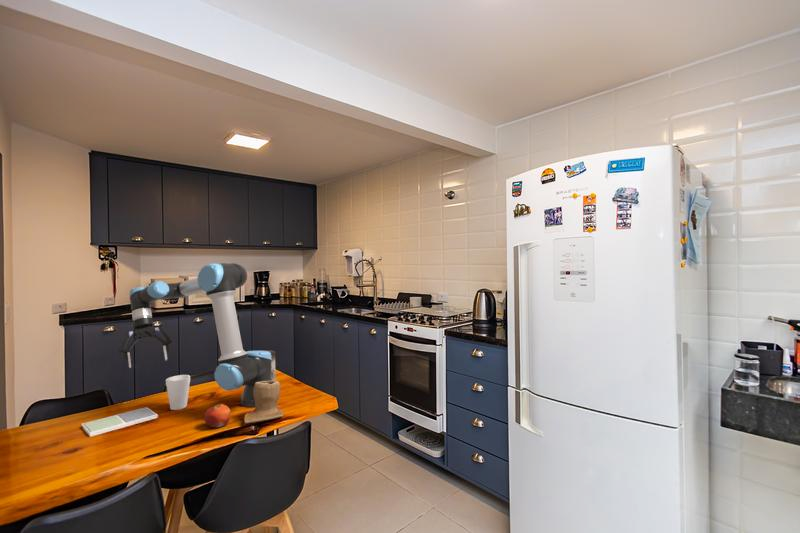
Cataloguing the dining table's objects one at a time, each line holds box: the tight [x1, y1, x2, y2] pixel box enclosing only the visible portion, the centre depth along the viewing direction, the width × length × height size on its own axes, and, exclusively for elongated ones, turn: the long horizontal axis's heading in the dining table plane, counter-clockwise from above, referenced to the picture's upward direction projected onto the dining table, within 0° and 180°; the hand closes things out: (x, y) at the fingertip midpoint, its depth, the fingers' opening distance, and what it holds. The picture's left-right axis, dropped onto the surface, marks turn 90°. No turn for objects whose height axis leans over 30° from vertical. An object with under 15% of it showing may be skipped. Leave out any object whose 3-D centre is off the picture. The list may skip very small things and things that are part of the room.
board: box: [81, 406, 159, 437], centre depth 151 cm, size 14×22×2 cm, turn 140°
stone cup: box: [243, 380, 284, 424], centre depth 152 cm, size 15×12×15 cm
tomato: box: [204, 403, 231, 428], centre depth 146 cm, size 9×9×8 cm
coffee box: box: [267, 349, 276, 381], centre depth 202 cm, size 9×6×16 cm
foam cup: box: [165, 374, 191, 411], centre depth 166 cm, size 10×9×13 cm
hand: (148, 363), depth 168 cm, fingers open, 13 cm apart
